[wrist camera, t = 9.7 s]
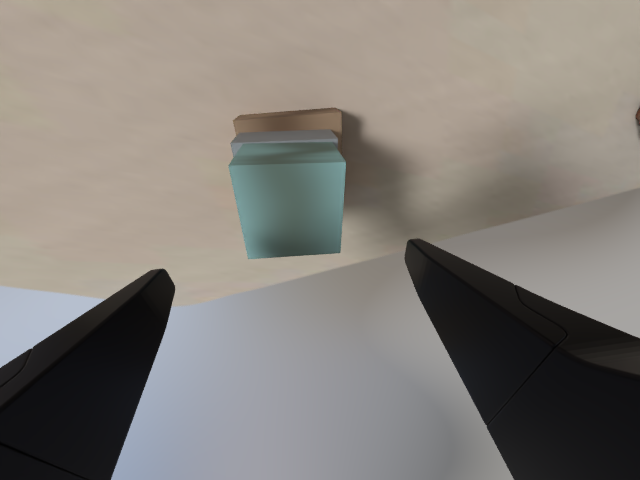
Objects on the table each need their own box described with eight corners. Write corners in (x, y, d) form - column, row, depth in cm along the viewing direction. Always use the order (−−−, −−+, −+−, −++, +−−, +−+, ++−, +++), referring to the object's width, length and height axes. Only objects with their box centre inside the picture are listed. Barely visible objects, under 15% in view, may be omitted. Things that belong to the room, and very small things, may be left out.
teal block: (332, 141, 14) (346, 162, 11) (329, 218, 17) (340, 252, 13) (243, 143, 13) (228, 165, 10) (256, 221, 16) (248, 259, 13)
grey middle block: (330, 129, 16) (337, 138, 14) (329, 209, 20) (335, 228, 17) (239, 132, 16) (230, 143, 13) (255, 214, 19) (250, 234, 17)
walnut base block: (334, 107, 18) (341, 112, 16) (336, 193, 22) (342, 208, 20) (240, 114, 18) (232, 120, 15) (259, 200, 22) (256, 217, 19)
